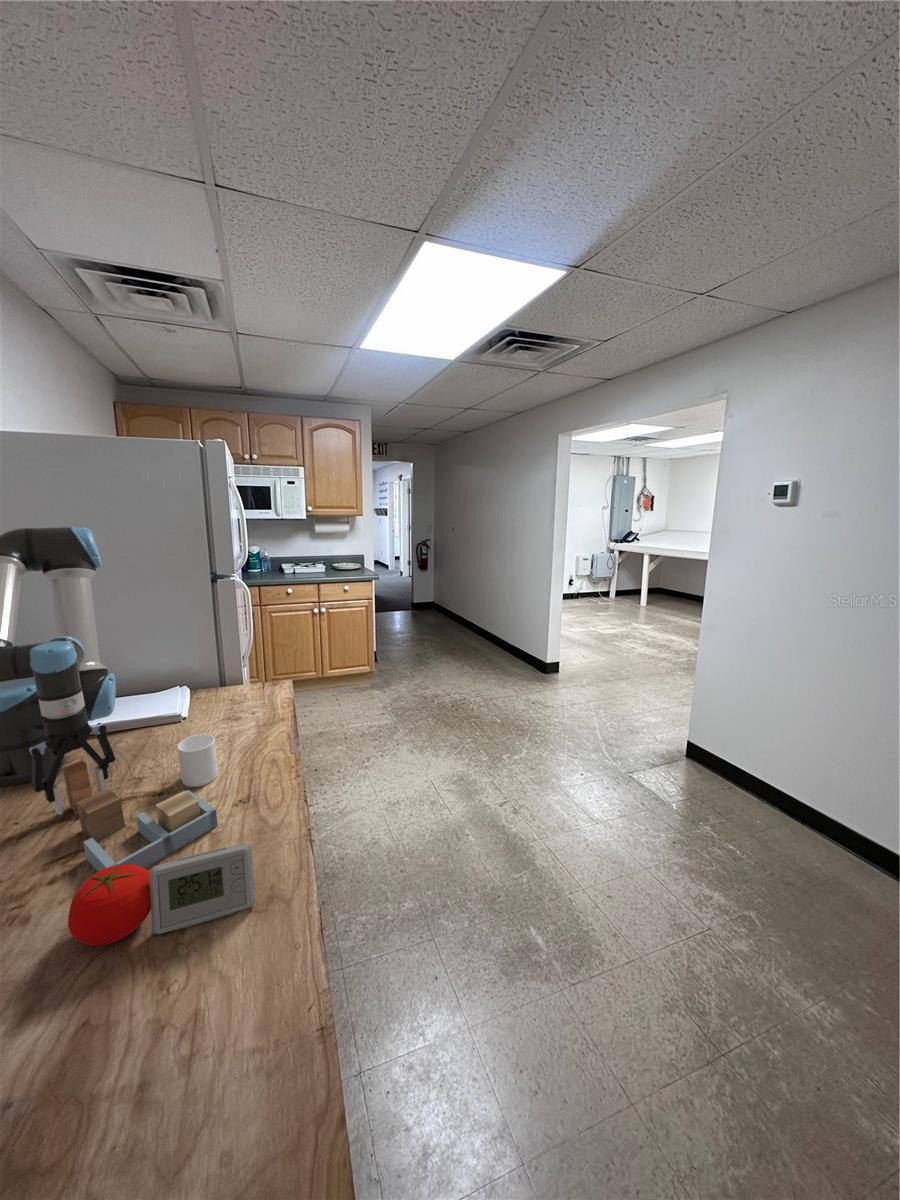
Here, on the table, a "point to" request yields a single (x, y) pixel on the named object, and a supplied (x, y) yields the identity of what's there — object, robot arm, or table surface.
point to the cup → (198, 760)
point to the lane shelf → (155, 839)
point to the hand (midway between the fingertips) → (81, 801)
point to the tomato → (110, 905)
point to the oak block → (177, 811)
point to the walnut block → (92, 803)
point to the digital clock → (201, 888)
